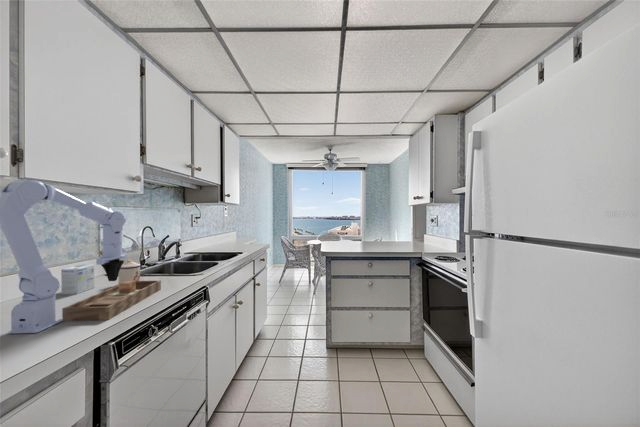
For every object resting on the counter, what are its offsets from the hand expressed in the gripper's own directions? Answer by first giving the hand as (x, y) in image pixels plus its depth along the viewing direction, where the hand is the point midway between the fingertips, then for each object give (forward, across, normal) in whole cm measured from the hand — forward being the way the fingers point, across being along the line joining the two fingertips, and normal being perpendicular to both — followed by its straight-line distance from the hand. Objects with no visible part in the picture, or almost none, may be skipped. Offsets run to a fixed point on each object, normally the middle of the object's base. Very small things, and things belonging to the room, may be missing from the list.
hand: (112, 280), depth 106 cm
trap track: (+9, +4, 0) cm, 10 cm away
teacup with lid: (+10, +34, +12) cm, 38 cm away
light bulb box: (+10, +22, +27) cm, 36 cm away
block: (+7, +9, 0) cm, 12 cm away
